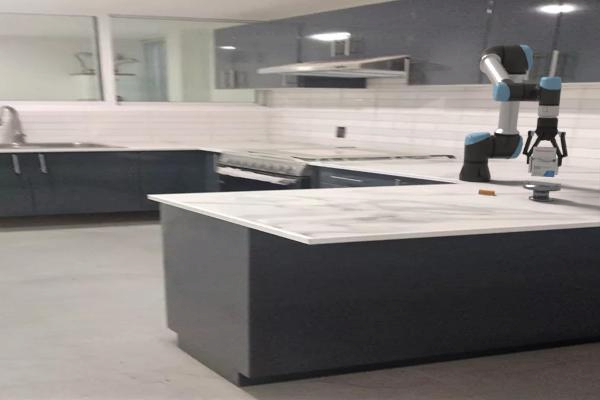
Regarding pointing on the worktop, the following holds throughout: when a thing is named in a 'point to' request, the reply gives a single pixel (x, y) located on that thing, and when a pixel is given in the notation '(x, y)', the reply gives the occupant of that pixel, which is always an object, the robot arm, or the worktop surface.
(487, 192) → the wedge pin
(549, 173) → the ink box
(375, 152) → the worktop surface
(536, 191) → the rosette stub
